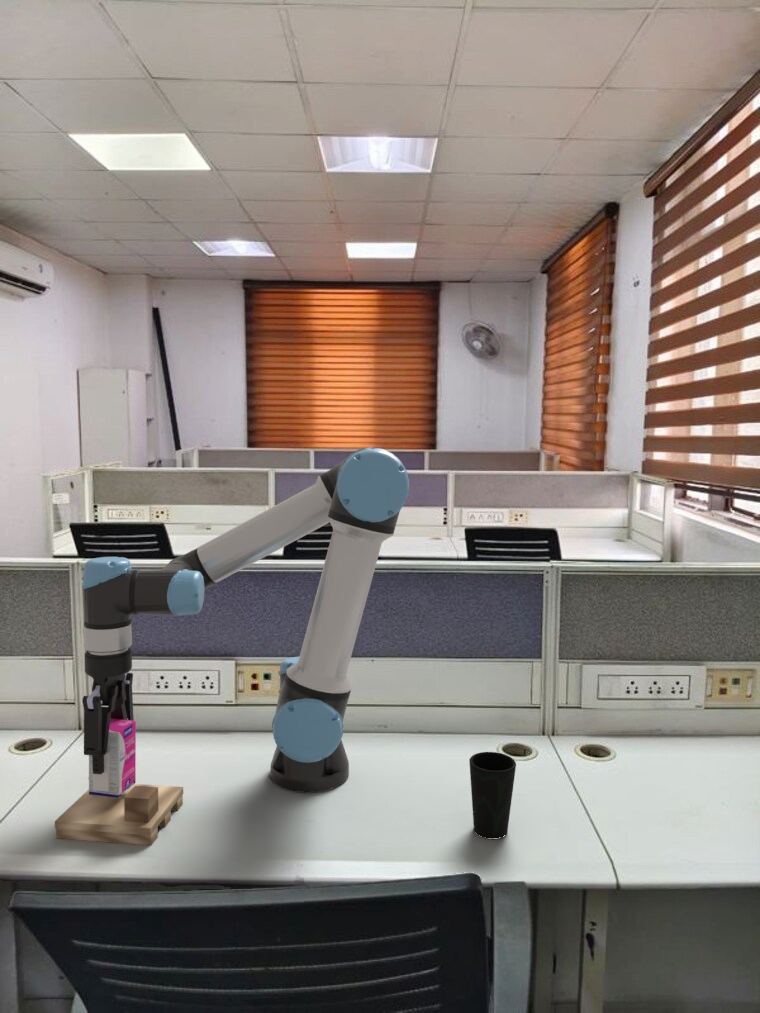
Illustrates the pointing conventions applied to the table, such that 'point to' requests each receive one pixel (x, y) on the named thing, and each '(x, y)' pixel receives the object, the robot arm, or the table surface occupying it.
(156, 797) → the brown wooden cube
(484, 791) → the cup
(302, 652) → the robot arm
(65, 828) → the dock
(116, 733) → the supplement box
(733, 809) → the table surface
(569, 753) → the table surface
